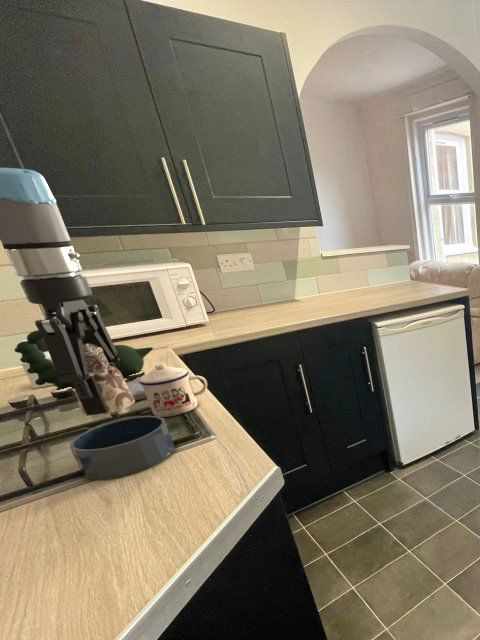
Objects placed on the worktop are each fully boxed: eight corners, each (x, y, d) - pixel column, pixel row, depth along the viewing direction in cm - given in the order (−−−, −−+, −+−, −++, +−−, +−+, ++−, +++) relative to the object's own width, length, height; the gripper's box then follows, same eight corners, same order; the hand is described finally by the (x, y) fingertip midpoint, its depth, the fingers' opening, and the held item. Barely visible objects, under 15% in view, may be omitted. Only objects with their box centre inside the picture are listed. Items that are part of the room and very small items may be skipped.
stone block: (180, 395, 114) (161, 382, 118) (175, 380, 112) (156, 367, 116) (127, 413, 105) (108, 399, 109) (120, 397, 102) (102, 383, 106)
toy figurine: (46, 409, 107) (165, 378, 120) (0, 340, 99) (133, 314, 112) (55, 398, 114) (166, 369, 127) (13, 332, 106) (136, 309, 119)
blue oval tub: (67, 487, 72) (52, 457, 70) (104, 450, 84) (92, 423, 82) (161, 469, 77) (150, 441, 75) (183, 436, 89) (174, 410, 86)
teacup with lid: (152, 421, 95) (133, 374, 91) (152, 409, 102) (134, 364, 98) (214, 406, 102) (200, 361, 98) (210, 395, 109) (197, 353, 104)
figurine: (90, 419, 72) (60, 352, 67) (76, 410, 75) (46, 346, 71) (141, 403, 77) (116, 340, 73) (126, 396, 81) (101, 336, 76)
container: (74, 375, 127) (55, 333, 122) (71, 381, 121) (51, 338, 116) (38, 381, 122) (17, 338, 117) (33, 389, 116) (10, 344, 112)
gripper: (46, 281, 60) (109, 423, 69) (109, 267, 77) (153, 382, 86) (-25, 286, 57) (49, 433, 66) (57, 270, 75) (107, 389, 83)
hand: (108, 404), depth 76 cm, fingers closed on figurine, 7 cm apart
